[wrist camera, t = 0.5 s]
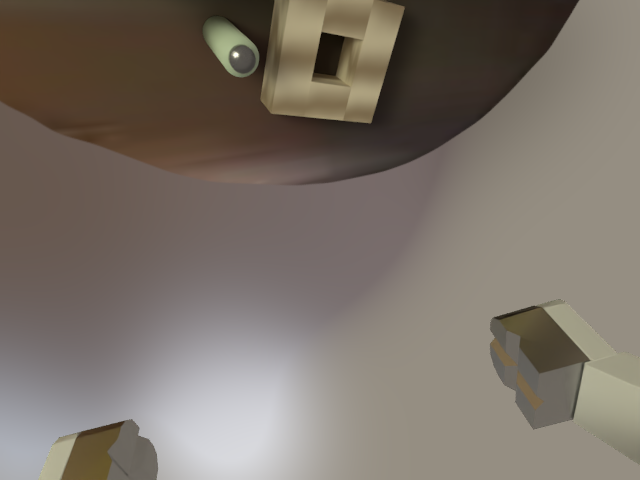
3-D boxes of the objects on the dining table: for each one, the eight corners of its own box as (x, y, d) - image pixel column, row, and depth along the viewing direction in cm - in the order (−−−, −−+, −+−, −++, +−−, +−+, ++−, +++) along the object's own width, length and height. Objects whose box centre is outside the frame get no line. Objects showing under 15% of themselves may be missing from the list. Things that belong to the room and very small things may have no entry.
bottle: (203, 12, 46) (226, 36, 37) (235, 18, 48) (264, 43, 39) (201, 46, 48) (222, 77, 39) (231, 51, 49) (258, 81, 41)
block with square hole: (278, -26, 47) (292, -21, 43) (384, 0, 53) (405, 6, 49) (260, 99, 54) (271, 113, 50) (354, 110, 60) (370, 123, 56)
